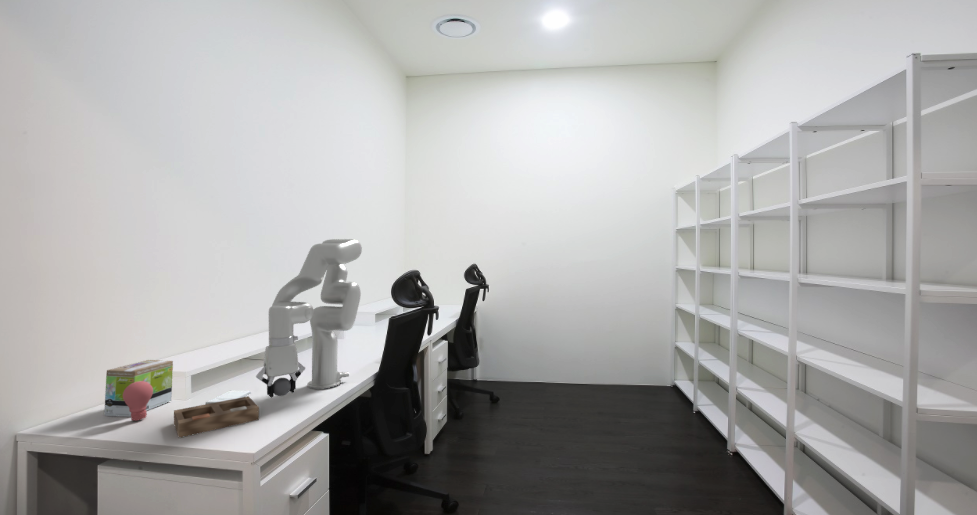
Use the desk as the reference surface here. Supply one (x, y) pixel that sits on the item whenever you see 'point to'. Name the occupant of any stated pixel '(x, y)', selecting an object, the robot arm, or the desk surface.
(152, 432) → the desk surface
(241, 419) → the socket block
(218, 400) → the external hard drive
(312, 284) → the robot arm
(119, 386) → the tea box
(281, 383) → the dark grey ball
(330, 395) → the desk surface
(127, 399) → the light bulb
